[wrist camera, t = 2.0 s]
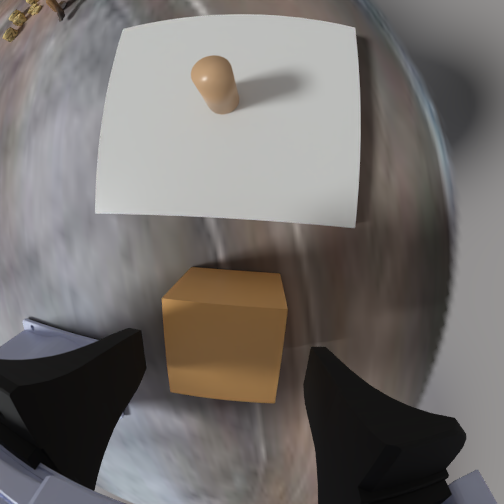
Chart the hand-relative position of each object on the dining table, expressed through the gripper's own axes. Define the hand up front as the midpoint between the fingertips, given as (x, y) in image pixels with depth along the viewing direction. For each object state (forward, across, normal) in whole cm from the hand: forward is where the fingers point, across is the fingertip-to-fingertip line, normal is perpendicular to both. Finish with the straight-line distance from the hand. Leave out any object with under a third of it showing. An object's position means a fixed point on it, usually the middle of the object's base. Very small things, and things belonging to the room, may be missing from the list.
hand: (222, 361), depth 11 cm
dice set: (+6, +25, -27) cm, 38 cm away
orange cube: (+5, 0, 0) cm, 5 cm away
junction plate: (+5, +1, -11) cm, 13 cm away
